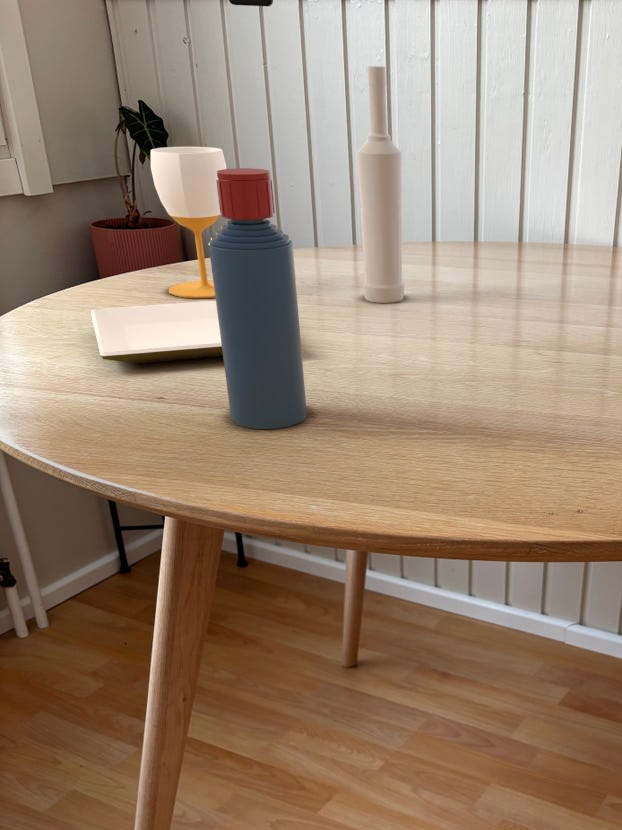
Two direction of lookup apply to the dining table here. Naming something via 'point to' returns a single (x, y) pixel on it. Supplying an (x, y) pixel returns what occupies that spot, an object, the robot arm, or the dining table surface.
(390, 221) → the bottle
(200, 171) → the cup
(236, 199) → the cap
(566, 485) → the dining table surface
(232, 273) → the water bottle
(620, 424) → the dining table surface
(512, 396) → the dining table surface
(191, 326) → the plate
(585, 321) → the dining table surface
